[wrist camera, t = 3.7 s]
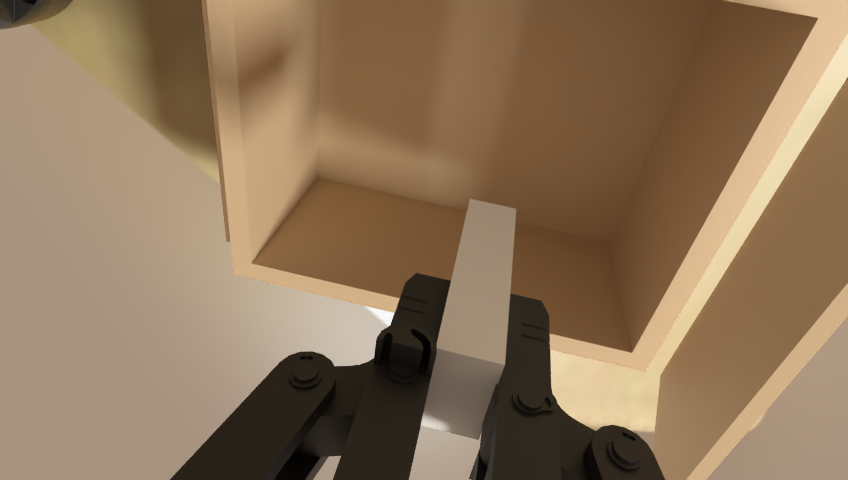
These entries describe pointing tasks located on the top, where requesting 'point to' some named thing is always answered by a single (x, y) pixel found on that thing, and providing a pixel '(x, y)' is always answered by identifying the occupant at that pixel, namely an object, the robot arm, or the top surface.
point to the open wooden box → (506, 143)
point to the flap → (762, 311)
